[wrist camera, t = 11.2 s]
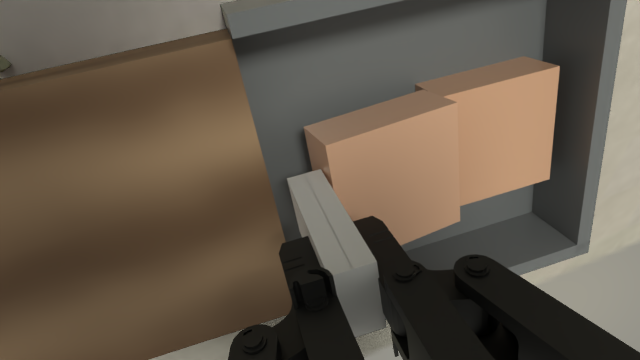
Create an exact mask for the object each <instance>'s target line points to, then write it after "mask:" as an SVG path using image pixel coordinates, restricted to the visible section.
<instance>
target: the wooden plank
mask: <svg viewBox="0 0 640 360" xmlns="http://www.w3.org/2000/svg"><path fill="white" fill-rule="evenodd" d="M285 242H286V241H285V237H284V234H283V230H282V226H281V222H280V219H279V215H278V211H277V207H276V204H275V200H274V196H273V192H272V189H271V185H270V181H269V177H268V174H267V170H266V166H265V162H264V159H263V155H262V151H261V147H260V144H259V140H258V136H257V132H256V129H255V125H254V121H253V117H252V114H251V110H250V106H249V102H248V99H247V95H246V91H245V87H244V84H243V80H242V76H241V72H240V69H239V65H238V61H237V57H236V54H235V50H234V46H233V42H232V39H231V37H230V34H229V32H228V30H227V29H223V30H218V31H214V32H209V33H205V34H200V35H196V36H191V37H187V38H183V39H178V40H174V41H169V42H165V43H160V44H156V45H151V46H147V47H142V48H138V49H133V50H129V51H124V52H120V53H116V54H111V55H107V56H102V57H98V58H93V59H89V60H84V61H80V62H75V63H71V64H66V65H62V66H57V67H53V68H49V69H44V70H40V71H35V72H31V73H26V74H22V75H17V76H13V77H8V78H4V79H0V360H148V359H151V358H155V357H158V356H161V355H164V354H167V353H170V352H173V351H176V350H179V349H183V348H186V347H189V346H192V345H195V344H198V343H201V342H204V341H207V340H210V339H214V338H217V337H220V336H223V335H226V334H229V333H232V332H235V331H238V330H242V329H245V328H247V327H250V326H253V325H256V324H260V323H263V322H266V321H270V320H273V319H276V318H279V317H282V316H285V315H288V314H289V312H290V310H291V307H292V299H291V296H290V292H289V289H288V285H287V282H286V278H285V274H284V271H283V267H282V264H281V260H280V257H279V251H280V248H281V245H282V243H285Z"/></svg>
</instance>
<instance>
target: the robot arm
mask: <svg viewBox="0 0 640 360" xmlns="http://www.w3.org/2000/svg"><path fill="white" fill-rule="evenodd" d="M287 181H288V185H289V189H290V194H291V198H292V202H293V206H294V210H295V214H296V218H297V222H298V226H299V231H300V233H301V236H302V238H299V239H295V240H292V241H289V242H285V243H282V245H281V248H280V251H279V257H280V260H281V264H282V267H283V271H284V274H285V278H286V282H287V285H288V289H289V292H290V296H291V299H292V307H291V310H290V312H289V314H288V315H287V316H286V317H285V319H284V320H282V321H281V322H280V323H278V324H277V325H275V326H274V327H270V326H267V325H262V324H256V325H253V326H250V327H247V328H245V329H244V330H242V331H241V332H239V334H238V335H237V336H236V337H235V338H234V340H233V342H232V344H231V347H230V352H229V357H228V360H364V357H363V355H362V353H361V350H360V348H359V346H358V343H357V341H356V339H355V338H356V337H359V336H362V335H365V334H368V333H371V332H374V331H377V330H380V329H383V328H386V321H385V317H386V319H387V321H388V323H389V325H390V327H391V334H392V341H393V349H394V353H395V357H397V356H398V351H399V353H400V355H401V357H402V358H403V360H640V353H639V352H638V351H636V350H635V349H633V348H632V347H630V346H628V345H627V344H625V343H624V342H622V341H620V340H619V339H617V338H616V337H614V336H613V335H611V334H610V333H608V332H606V331H605V330H603V329H602V328H600V327H599V326H597V325H595V324H594V323H592V322H591V321H589V320H587V319H586V318H584V317H583V316H581V315H580V314H578V313H577V312H575V311H573V310H572V309H570V308H569V307H567V306H566V305H564V304H563V303H561V302H559V301H558V300H556V299H555V298H553V297H552V296H550V295H548V294H547V293H545V292H544V291H542V290H541V289H539V288H537V287H536V286H534V285H533V284H531V283H530V282H528V281H526V280H525V279H523V278H522V277H520V276H519V275H517V274H515V273H514V272H512V271H511V270H509V269H508V268H506V267H504V266H503V265H501V264H500V263H498V262H497V261H495V260H493V259H491V258H489V257H487V256H484V255H478V254H474V255H466V256H463V257H461V258H459V259H458V260H457V261H456V262H455V264H454V267H453V269H450V270H428V269H426V268H425V267H424V266H423V265H422V264H420V263H418V262H416V261H413V260H411V259H410V258H409V257H408V255H407V254H406V252H405V251H404V250H403V248H402V247H401V246H400V244H399V243H398V241H397V240H396V239H395V237H393V235H392V233H391V232H390V231H389V229H388V228H387V226H386V225H385V224H384V222H383V221H382V220H380V219H378V218H376V217H374V216H369V217H366V218H363V219H359V220H356V221H352V220H351V218H350V216H349V215H348V213H347V211H346V210H345V208H344V207H343V205H342V203H341V202H340V200H339V198H338V197H337V195H336V193H335V192H334V190H333V188H332V187H331V185H330V184H329V182H328V180H327V179H326V177H325V175H324V174H323V172H322V170H321V169H319V170H315V171H312V172H308V173H305V174H301V175H297V176H294V177H290V178H287Z"/></svg>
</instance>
